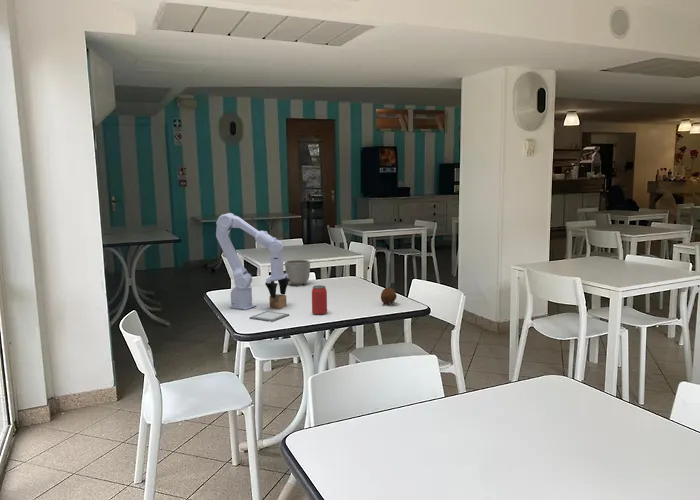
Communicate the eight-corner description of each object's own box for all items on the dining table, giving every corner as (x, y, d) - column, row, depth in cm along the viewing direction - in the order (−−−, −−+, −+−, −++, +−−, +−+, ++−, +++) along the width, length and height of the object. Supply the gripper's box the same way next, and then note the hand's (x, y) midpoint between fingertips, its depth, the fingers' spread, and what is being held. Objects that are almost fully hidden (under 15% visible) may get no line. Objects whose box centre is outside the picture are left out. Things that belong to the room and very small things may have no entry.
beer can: (325, 315, 238) (324, 288, 236) (310, 314, 239) (309, 287, 238) (328, 311, 244) (328, 285, 243) (314, 311, 246) (313, 284, 244)
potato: (393, 301, 263) (393, 285, 262) (398, 306, 253) (398, 289, 252) (378, 302, 262) (378, 285, 261) (382, 306, 252) (382, 290, 251)
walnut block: (269, 308, 252) (269, 296, 252) (276, 305, 257) (276, 294, 256) (279, 309, 250) (279, 297, 249) (286, 306, 255) (286, 295, 254)
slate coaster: (249, 318, 234) (249, 317, 234) (266, 312, 244) (266, 310, 244) (272, 322, 228) (272, 320, 228) (289, 315, 239) (289, 313, 238)
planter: (309, 287, 298) (308, 263, 296) (283, 287, 298) (283, 263, 297) (311, 282, 312) (311, 259, 310) (287, 282, 312) (286, 259, 310)
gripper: (274, 269, 243) (275, 300, 244) (293, 264, 255) (294, 293, 257) (261, 268, 246) (263, 298, 248) (280, 264, 259) (281, 292, 260)
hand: (278, 295), depth 253 cm, fingers open, 7 cm apart
